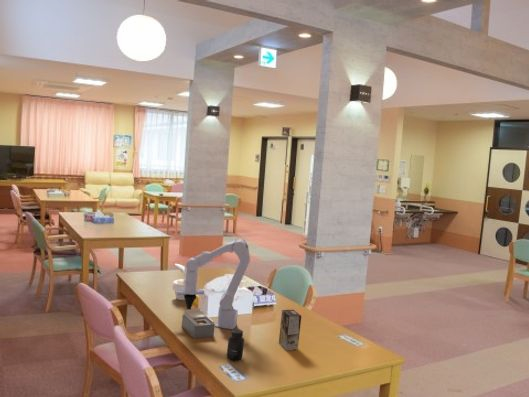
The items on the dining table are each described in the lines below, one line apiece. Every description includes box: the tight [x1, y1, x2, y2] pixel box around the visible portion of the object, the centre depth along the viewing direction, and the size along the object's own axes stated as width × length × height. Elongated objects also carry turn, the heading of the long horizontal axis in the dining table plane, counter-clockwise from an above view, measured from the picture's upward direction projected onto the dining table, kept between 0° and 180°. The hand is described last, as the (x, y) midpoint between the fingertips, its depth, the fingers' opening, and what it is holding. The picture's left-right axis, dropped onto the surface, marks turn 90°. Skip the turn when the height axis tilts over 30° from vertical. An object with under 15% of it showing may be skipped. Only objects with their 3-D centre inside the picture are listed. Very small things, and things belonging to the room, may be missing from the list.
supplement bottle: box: [226, 328, 245, 362], centre depth 208 cm, size 7×7×12 cm
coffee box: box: [278, 309, 302, 351], centre depth 227 cm, size 9×6×16 cm
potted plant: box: [172, 256, 193, 301], centre depth 282 cm, size 13×12×25 cm
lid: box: [185, 308, 205, 319], centre depth 238 cm, size 7×7×2 cm
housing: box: [181, 310, 216, 339], centre depth 235 cm, size 16×10×7 cm, turn 30°
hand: (188, 308), depth 246 cm, fingers closed
